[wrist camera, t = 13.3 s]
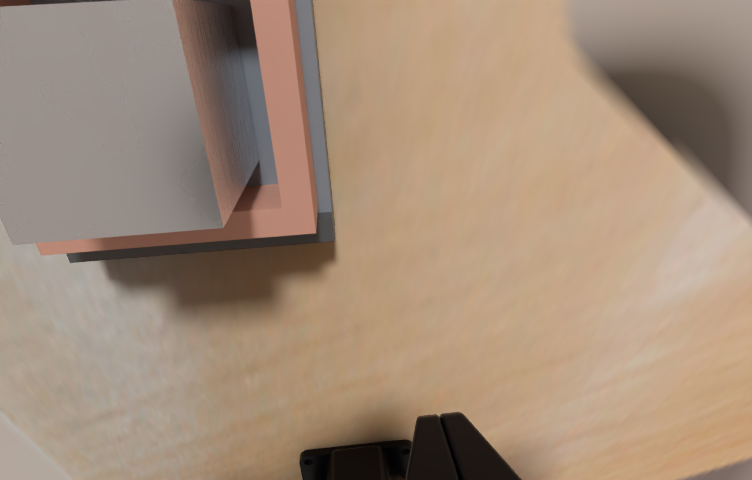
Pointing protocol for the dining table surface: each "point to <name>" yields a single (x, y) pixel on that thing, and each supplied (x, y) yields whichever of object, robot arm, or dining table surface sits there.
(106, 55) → the block
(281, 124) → the frame
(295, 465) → the dining table surface
